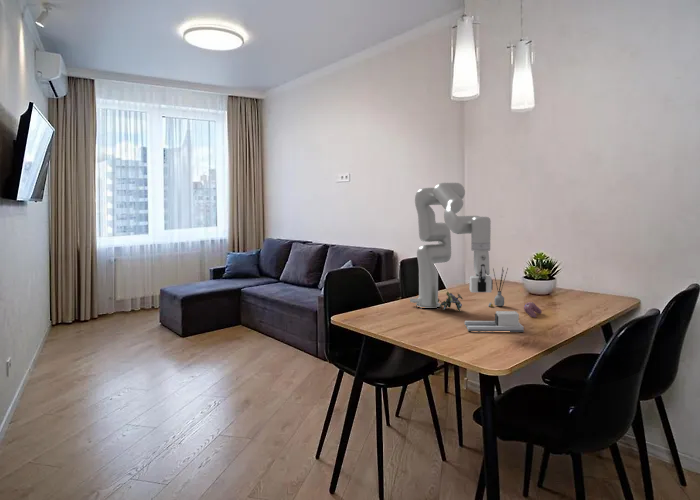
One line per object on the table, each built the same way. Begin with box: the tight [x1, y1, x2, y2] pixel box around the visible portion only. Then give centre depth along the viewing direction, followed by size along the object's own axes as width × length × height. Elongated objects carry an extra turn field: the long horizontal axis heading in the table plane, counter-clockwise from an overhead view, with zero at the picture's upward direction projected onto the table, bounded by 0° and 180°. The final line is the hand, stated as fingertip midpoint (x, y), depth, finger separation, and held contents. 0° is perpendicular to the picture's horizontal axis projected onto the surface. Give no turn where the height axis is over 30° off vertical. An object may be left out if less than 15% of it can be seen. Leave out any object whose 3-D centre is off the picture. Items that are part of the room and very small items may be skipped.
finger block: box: [469, 275, 494, 293], centre depth 185 cm, size 8×5×6 cm, turn 84°
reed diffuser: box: [487, 267, 509, 308], centre depth 223 cm, size 10×7×20 cm
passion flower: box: [438, 291, 464, 312], centre depth 218 cm, size 11×11×12 cm
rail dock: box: [464, 310, 525, 332], centre depth 186 cm, size 22×10×7 cm, turn 84°
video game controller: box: [523, 301, 542, 319], centre depth 207 cm, size 10×5×7 cm, turn 141°
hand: (480, 289), depth 185 cm, fingers closed on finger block, 5 cm apart
